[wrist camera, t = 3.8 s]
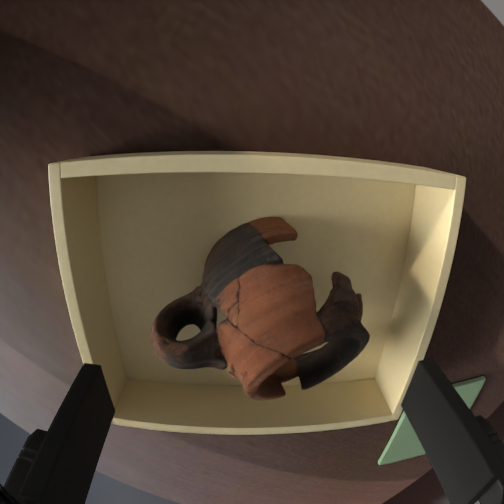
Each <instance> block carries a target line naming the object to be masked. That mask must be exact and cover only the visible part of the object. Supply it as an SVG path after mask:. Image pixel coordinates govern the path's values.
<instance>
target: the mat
mask: <svg viewBox="0 0 504 504" xmlns="http://www.w3.org/2000/svg"><path fill="white" fill-rule="evenodd" d="M485 380H486V378H485V377H484V376H481V377H477V378H474V379H470V380H466V381H462V382H458V383H454V384H452V385H453V387H454V388H455V389H456V391H457V392H458V394H459V395H460V396H461V398H462V399H463V401H464V402H465V403H466V405H467V406H468V408H469V409H470V408H471V406H472V404H473V403H474V401H475V399H476V397H477V395H478V393H479V392H480V390H481V388H482V386H483V384H484V382H485ZM423 454H426V453H425V451H424V449H423V447H422V445H421V443H420V441H419V439H418V437H417V435H416V433H415V431H414V429H413V427H412V425H411V423H410V422H409V420H408V418H407V416H406V414H405V412H404V411H403V413H402V416H401V418H400V420H399V422H398V424H397V426H396V428H395V430H394V432H393V434H392V436H391V438H390V440H389V442H388V444H387V446H386V447H385V449H384V451H383V453H382V455H381V457H380V458H379V460H378V465H383V464H388V463H392V462H396V461H400V460H404V459H408V458H412V457H416V456H419V455H423Z"/></svg>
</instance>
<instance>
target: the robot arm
mask: <svg viewBox="0 0 504 504" xmlns="http://www.w3.org/2000/svg"><path fill="white" fill-rule="evenodd" d="M401 406H402V408H403V410H404V412H405V414H406V416H407V418H408V420H409V422H410V423H411V425H412V427H413V429H414V431H415V433H416V435H417V437H418V439H419V441H420V443H421V445H422V447H423V449H424V451H425V453H426V455H427V457H428V459H429V461H430V463H431V465H432V467H433V469H434V471H435V473H436V475H437V477H438V479H439V481H440V483H441V485H442V487H443V489H444V491H445V493H446V496H447V498H448V500H449V502H450V504H474V503H475V502H476V501H478V500H479V502H480V504H504V443H503V441H502V440H501V439H500V437H499V435H498V434H497V433H495V430H494V428H493V427H492V426H491V424H490V422H488V421H487V420H486V419H485V418H483V417H482V416H481V415H479V416H476V417H475V416H474V415H473V413H472V412H471V410H470V409H469V408H468V406H467V405H466V403H465V402H464V401H463V399H462V398H461V396H460V395H459V394H458V392H457V391H456V389H455V388H454V387H453V385H452V384H451V383H450V381H449V380H448V379H447V377H446V376H445V375H444V373H443V372H442V371H441V369H440V368H439V367H438V365H437V364H436V363H435V361H434V360H433V359H426V360H420V361H418V364H417V367H416V369H415V372H414V374H413V377H412V379H411V382H410V384H409V387H408V389H407V392H406V394H405V396H404V399H403V401H402V403H401ZM114 414H115V408H114V405H113V402H112V399H111V396H110V393H109V390H108V387H107V384H106V381H105V378H104V374H103V371H102V368H101V365H97V364H89V363H84V364H83V366H82V368H81V370H80V371H79V373H78V375H77V377H76V379H75V380H74V382H73V384H72V386H71V388H70V389H69V391H68V393H67V395H66V397H65V399H64V401H63V402H62V404H61V406H60V408H59V410H58V412H57V414H56V416H55V418H54V420H53V422H52V424H51V426H50V428H49V430H48V432H47V431H43V430H40V429H37V430H35V431H34V432H33V433H32V434H31V435H30V436H29V437H28V438H27V440H26V442H25V444H24V446H23V450H21V452H20V454H19V458H17V460H16V462H15V464H14V466H13V468H12V470H11V472H10V474H9V477H8V479H7V481H6V483H5V485H4V487H3V486H2V485H1V484H0V504H85V501H86V498H87V494H88V491H89V488H90V485H91V482H92V479H93V475H94V472H95V469H96V466H97V463H98V460H99V457H100V454H101V451H102V448H103V445H104V442H105V439H106V436H107V433H108V431H109V428H110V425H111V422H112V419H113V417H114Z"/></svg>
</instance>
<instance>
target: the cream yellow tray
mask: <svg viewBox="0 0 504 504" xmlns="http://www.w3.org/2000/svg"><path fill="white" fill-rule="evenodd" d="M48 172H49V188H50V200H51V210H52V219H53V228H54V235H55V242H56V249H57V255H58V261H59V267H60V272H61V277H62V282H63V287H64V292H65V297H66V301H67V306H68V310H69V314H70V318H71V322H72V326H73V330H74V333H75V337H76V341H77V344H78V348H79V351H80V354H81V358H82V361H83V364H84V363H89V364H97V365H101V368H102V371H103V374H104V378H105V381H106V384H107V387H108V390H109V393H110V396H111V399H112V402H113V405H114V408H115V414H114V417H113V419H112V422H111V424H116V425H122V426H129V427H136V428H144V429H152V430H161V431H172V432H185V433H201V434H230V435H256V434H285V433H301V432H314V431H325V430H334V429H342V428H350V427H357V426H364V425H371V424H377V423H382V422H388V421H392V420H397V419H399V417H400V414H401V412H402V410H403V408H402V406H401V403H402V401H403V399H404V396H405V394H406V392H407V389H408V387H409V384H410V382H411V379H412V377H413V374H414V372H415V369H416V367H417V364H418V361H420V360H423V359H424V357H425V354H426V351H427V348H428V345H429V343H430V340H431V337H432V334H433V331H434V327H435V324H436V321H437V318H438V315H439V311H440V308H441V305H442V301H443V297H444V294H445V290H446V286H447V282H448V278H449V274H450V270H451V266H452V262H453V257H454V252H455V248H456V243H457V238H458V232H459V227H460V221H461V215H462V208H463V202H464V194H465V186H466V177H464V176H460V175H456V174H452V173H448V172H443V171H439V170H435V169H430V168H426V167H420V166H414V165H407V164H400V163H392V162H384V161H376V160H367V159H358V158H348V157H337V156H325V155H312V154H297V153H278V152H251V151H173V152H146V153H128V154H113V155H100V156H88V157H82V158H76V159H71V160H65V161H60V162H55V163H50V164H48ZM265 217H281V218H282V219H284V220H285V222H287V223H288V224H289V225H290V226H292V227H293V228H294V229H295V230H296V231H297V233H298V236H297V239H296V240H295V241H285V242H279V243H274V244H271V245H269V246H270V247H271V248H272V249H273V250H274V251H275V252H276V253H277V254H278V255H279V256H280V257H281V258H282V259H283V263H284V264H297V265H299V266H301V267H303V268H304V269H305V270H306V271H307V272H308V273H309V274H310V275H311V277H312V281H313V288H314V297H315V301H316V312H318V311H319V310H320V308H321V307H322V306H323V305H324V303H325V302H326V300H327V298H328V296H329V294H330V291H331V289H332V288H333V286H332V280H331V276H332V273H333V272H340V273H342V274H344V275H346V276H347V277H349V279H350V280H351V284H352V289H353V290H354V292H355V293H356V294H357V293H360V294H361V295H362V302H363V314H362V319H361V323H362V325H363V326H364V327H365V328H366V330H367V331H368V332H369V334H370V338H369V342H368V343H367V345H366V347H365V348H364V349H363V351H362V352H361V353H360V354H359V355H358V356H357V357H356V358H355V359H354V360H353V361H352V362H350V363H349V364H348V365H347V366H346V367H344V368H343V369H342V370H340V371H339V372H338V373H336V374H335V375H333V376H331V377H330V378H328V379H327V380H325V381H323V382H321V383H319V384H317V385H315V386H313V387H311V388H309V389H306V390H302V388H301V383H300V380H299V377H296V378H294V379H292V380H289V381H287V382H283V383H281V384H282V386H283V388H284V390H285V392H286V395H285V396H283V397H281V398H277V399H271V400H255V399H251V398H249V397H248V396H247V395H246V394H245V392H244V390H243V385H242V382H241V381H239V380H237V379H235V378H234V377H232V376H230V375H229V374H228V372H229V371H230V369H229V368H228V366H227V368H226V369H224V370H219V369H216V368H211V367H206V368H198V369H177V368H174V367H171V366H169V365H167V364H166V363H164V362H163V361H161V360H160V359H159V357H158V356H157V354H156V352H155V351H154V349H153V344H152V342H151V341H150V339H149V333H150V331H151V330H150V329H151V326H152V324H153V322H154V320H155V318H156V316H157V315H158V313H159V312H160V311H161V310H162V309H163V308H164V307H165V306H166V305H168V304H169V303H171V302H172V301H174V300H176V299H178V298H180V297H182V296H184V295H187V294H189V293H190V292H192V291H193V290H194V289H195V288H196V287H197V286H201V282H202V277H203V273H204V269H205V262H206V259H207V257H208V255H209V253H210V251H211V249H212V247H213V246H214V244H215V243H216V242H217V241H218V240H219V239H220V238H222V237H223V236H224V235H225V234H227V233H228V232H229V231H230V230H233V229H234V228H236V227H238V226H240V225H242V224H244V223H248V222H250V221H253V220H256V219H259V218H265ZM225 319H226V318H225V317H224V316H223V315H222V313H221V312H220V311H219V310H218V309H217V327H218V325H219V324H220V323H221V322H222V321H223V320H225ZM200 331H201V330H200V329H199V328H198V327H197V326H196V325H194V324H193V325H187V326H185V327H184V328H183V329H182V330H181V331H180V332H179V333H178V336H177V338H176V340H178V341H183V340H187V339H190V338H192V337H194V336H196V335H197V334H198V333H199V332H200ZM327 343H328V342H326V343H324V344H322V345H320V346H317V347H315V348H313V349H311V350H309V351H307V352H311V351H314V350H316V349H319V348H321V347H323V346H324V345H325V344H327ZM307 352H305V353H307Z"/></svg>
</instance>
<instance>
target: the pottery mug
mask: <svg viewBox="0 0 504 504" xmlns="http://www.w3.org/2000/svg"><path fill="white" fill-rule="evenodd" d="M297 236H298V233H297V231H296V230H295V229H294V228H293V227H292V226H290V225H289V224H288V223H287V222H285V220H284V219H282V218H281V217H265V218H259V219H256V220H253V221H250V222H248V223H244V224H242V225H240V226H238V227H236V228H234V229H233V230H230V231H229V232H228V233H227V234H225V235H224V236H223V237H222V238H220V239H219V240H218V241H217V242H216V243H215V244H214V246H213V247H212V249H211V251H210V253H209V255H208V257H207V259H206V262H205V269H204V273H203V277H202V282H201V286H197V287H196V288H195V289H194V290H193V291H192V292H190V293H189V294H187V295H184V296H182V297H180V298H178V299H176V300H174V301H172V302H171V303H169V304H168V305H166V306H165V307H164V308H163V309H162V310H161V311H160V312H159V313H158V315H157V316H156V318H155V320H154V322H153V324H152V326H151V329H150V330H151V331H150V333H149V339H150V341H151V342H152V344H153V349H154V351H155V352H156V354H157V356H158V357H159V359H160V360H161V361H163V362H164V363H166V364H167V365H169V366H171V367H174V368H177V369H198V368H206V367H211V368H216V369H219V370H224V369H226V368H227V366H228V368H229V369H230V371H229V372H228V374H229V375H230V376H232V377H234V378H235V379H237V380H239V381H241V382H242V385H243V390H244V392H245V394H246V395H247V396H248V397H249V398H251V399H255V400H271V399H277V398H281V397H283V396H285V395H286V392H285V390H284V388H283V386H282V384H281V383H283V382H287V381H289V380H292V379H294V378H296V377H299V380H300V383H301V388H302V390H306V389H309V388H311V387H313V386H315V385H317V384H319V383H321V382H323V381H325V380H327V379H328V378H330V377H331V376H333V375H335V374H336V373H338V372H339V371H340V370H342V369H343V368H344V367H346V366H347V365H348V364H349V363H350V362H352V361H353V360H354V359H355V358H356V357H357V356H358V355H359V354H360V353H361V352H362V351H363V349H364V348H365V347H366V345H367V343H368V342H369V338H370V334H369V332H368V331H367V330H366V328H365V327H364V326H363V325H362V323H361V319H362V314H363V302H362V295H361V294H360V293H357V294H356V293H355V292H354V290H353V289H352V284H351V280H350V279H349V277H347V276H346V275H344V274H342V273H340V272H333V273H332V276H331V280H332V286H333V288H332V289H331V291H330V294H329V296H328V298H327V300H326V302H325V303H324V305H323V306H322V307H321V308H320V310H319V311H318V312H316V301H315V297H314V288H313V281H312V277H311V275H310V274H309V273H308V272H307V271H306V270H305V269H304V268H303V267H301V266H299V265H297V264H284V263H283V259H282V258H281V257H280V256H279V255H278V254H277V253H276V252H275V251H274V250H273V249H272V248H271V247H270V246H269V245H271V244H274V243H279V242H285V241H295V240H296V239H297ZM217 309H218V310H219V311H220V312H221V313H222V315H223V316H224V317H225V318H226V319H225V320H223V321H222V322H221V323H220V324H219V325H218V327H217ZM193 324H194V325H196V326H197V327H198V328H199V329H200V330H201V331H200V332H199V333H198V334H197V335H196V336H194V337H192V338H190V339H187V340H183V341H178V340H176V338H177V336H178V333H179V332H180V331H181V330H182V329H183V328H184V327H185V326H187V325H193ZM326 342H328V343H327V344H325V345H324V346H323V347H321V348H319V349H316V350H314V351H311V352H307V351H309V350H311V349H313V348H315V347H317V346H320V345H322V344H324V343H326ZM305 352H307V353H305Z"/></svg>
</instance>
